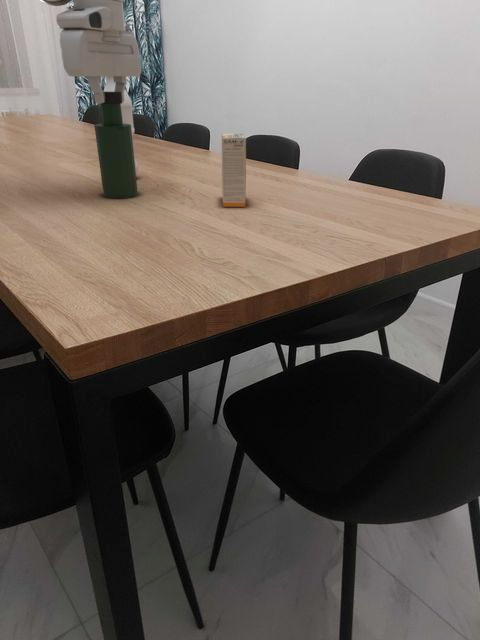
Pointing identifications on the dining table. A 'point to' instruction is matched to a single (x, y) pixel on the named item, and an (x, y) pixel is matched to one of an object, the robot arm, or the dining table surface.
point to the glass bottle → (115, 154)
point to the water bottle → (123, 108)
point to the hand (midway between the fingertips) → (110, 102)
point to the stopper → (113, 98)
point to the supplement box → (234, 170)
